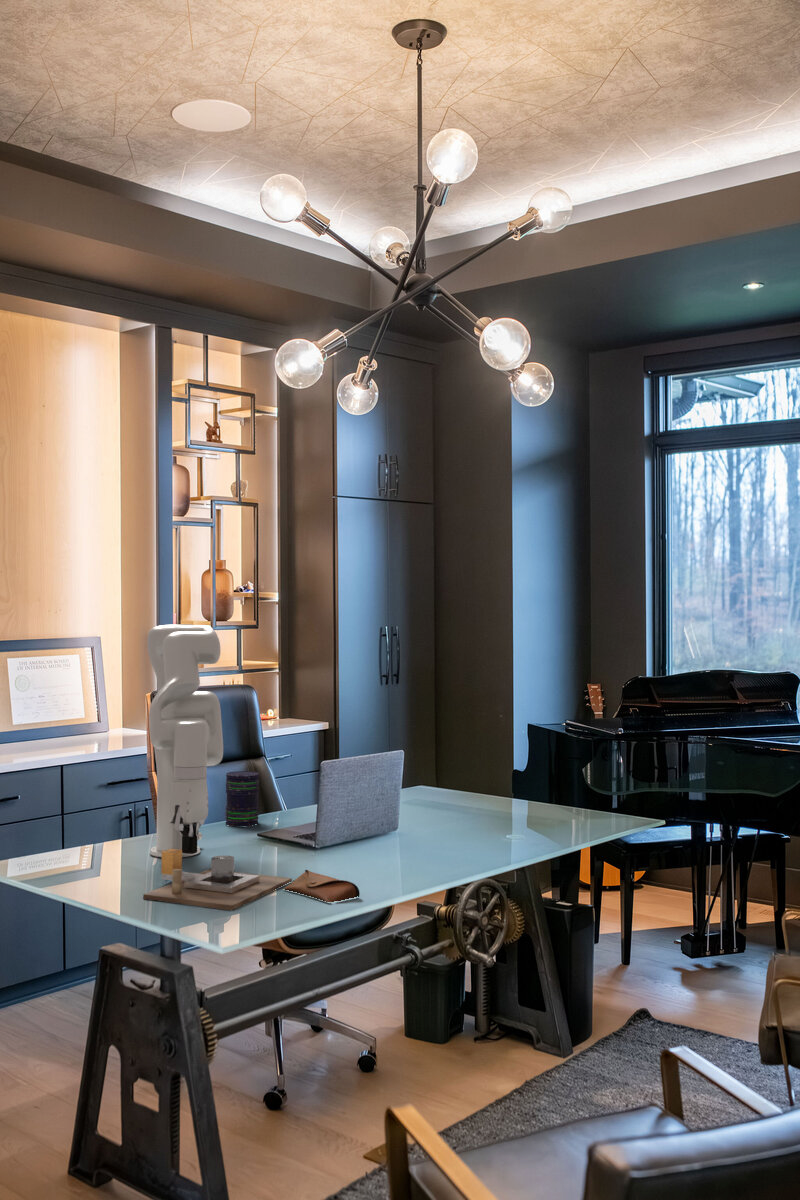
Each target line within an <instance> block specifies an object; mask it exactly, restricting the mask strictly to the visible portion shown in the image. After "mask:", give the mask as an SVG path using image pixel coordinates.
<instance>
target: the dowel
mask: <svg viewBox="0 0 800 1200" xmlns="http://www.w3.org/2000/svg"><path fill="white" fill-rule="evenodd" d="M182 872H183V868H182V869H173V870H172V880H171V881H172V883H171V884H172V894H181V893H182Z"/></svg>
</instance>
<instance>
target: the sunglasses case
mask: <svg viewBox="0 0 800 1200" xmlns="http://www.w3.org/2000/svg"><path fill="white" fill-rule="evenodd" d="M283 889H285V890H289V891H293V892H297V893H300V894H304V895H307V896H311V897H314V898H317V899H320V900H323V901H326V902H334V901H341V900H345V899H349V898H354V897H357V896H358V897H359V898H360V889H359V887H358V886H357V885H356V884H355V883H354V882H351V881H349V880H342V879H337V878H335V877H331V876H328V875H324V874H320V873H317V872H312V871H310V870H308V869H305V870H304V872H303V873H302V874H300V876H298V877H297V878H295V879H294V880H292V883H290V884H288V885H286V886H284V887H283Z"/></svg>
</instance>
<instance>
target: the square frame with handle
mask: <svg viewBox="0 0 800 1200" xmlns="http://www.w3.org/2000/svg"><path fill="white" fill-rule="evenodd" d="M173 869H182V870H183V857H182V850H179V849H168V850H165V851H162V857H161V871H160V872H161V873H160V874H161V877H160V878H161V880H166V881H172V870H173ZM241 873H242V872H240V873H234V882H231V883H229V884H224V883H216V882H211V872H209V873H206V874H198V873H196V872H186V871H182V882H184V887H185V888H193V889H202V890H210V891H218V892H226V893H233V892H235V891H238V890H240V889H242V888H244V887H247V886H249V885H251V884H254V883H256V882H258V881H260V876H259V875H260V874H258V875H250V874H251V873H249V874H241Z"/></svg>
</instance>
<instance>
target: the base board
mask: <svg viewBox="0 0 800 1200" xmlns="http://www.w3.org/2000/svg"><path fill="white" fill-rule="evenodd" d="M209 872H211V868H209V869H206V870H204V871H201V872H198V873H197V874H206V873H209ZM234 873H241V874H250V875H259V876H260V881H258V882H256V883H254V884H251V885H249V886H247V887H244V888H242V889H240V890H238V891H235V892H233V893H226V892H218V891H210V890H202V889H193V888H185V887H184V882H182V893H181V894H172V883H169V884H167V885H164V886H161V887H159V888H156V889H153V890H151V891H149V892H146V893H144V894H142V895H143V896H142V897H143V898H142V899H143V900H147V899H150V901H155V900H158V901H157V902H163V901H165V902H166V903H171V902H172V903H173V904H178V903H180V905H187V906H195V907H204V908H209V909H217V910H225V909H226V911H234V910H236V909H238V908H240V907H243V906H245V905H247V904H248V903H251V902H253V901H255V900H257V898H258V899H260V898H262V897H263V896H262V895H264V896H266V895H268V894H270V893H272V892H271V891H273V890H275V889H277V888H279V887H281V886H283V885H285V884H287V883H289V882H291V881H292V882H293V878H292V877H286V876H285V877H281V876H276V875H275V876H274V875H266V874H264V875H263V874H257V873H256V874H255V873H247V872H240V871H234ZM283 887H284V886H283ZM281 888H282V887H281ZM279 889H280V888H279ZM277 890H278V889H277ZM275 891H276V890H275ZM269 892H270V893H269ZM273 892H274V891H273ZM267 893H268V894H267ZM265 894H266V895H265ZM261 896H262V897H261ZM259 897H260V898H259ZM246 903H247V904H246ZM244 904H245V905H244ZM233 909H234V910H233Z"/></svg>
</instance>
